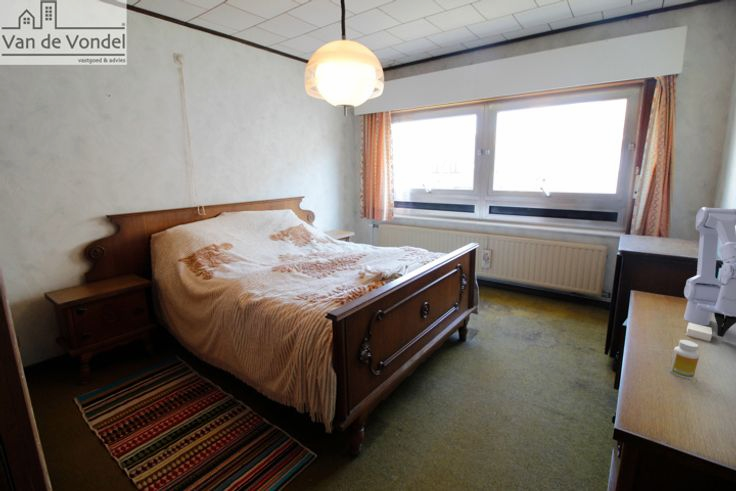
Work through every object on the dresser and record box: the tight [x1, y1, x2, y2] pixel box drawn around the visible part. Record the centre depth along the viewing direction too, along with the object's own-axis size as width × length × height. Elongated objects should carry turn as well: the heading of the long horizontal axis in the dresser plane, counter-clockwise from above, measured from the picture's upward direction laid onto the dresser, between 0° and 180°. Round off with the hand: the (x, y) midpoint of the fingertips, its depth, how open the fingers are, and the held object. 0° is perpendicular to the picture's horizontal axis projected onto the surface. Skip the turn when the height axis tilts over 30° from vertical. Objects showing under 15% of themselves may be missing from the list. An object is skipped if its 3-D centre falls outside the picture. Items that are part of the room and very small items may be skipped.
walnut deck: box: [684, 327, 713, 343], centre depth 122 cm, size 8×7×1 cm
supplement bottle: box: [668, 339, 700, 380], centre depth 100 cm, size 5×5×10 cm
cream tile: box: [686, 321, 713, 342], centre depth 122 cm, size 7×6×2 cm
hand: (719, 335), depth 119 cm, fingers closed
